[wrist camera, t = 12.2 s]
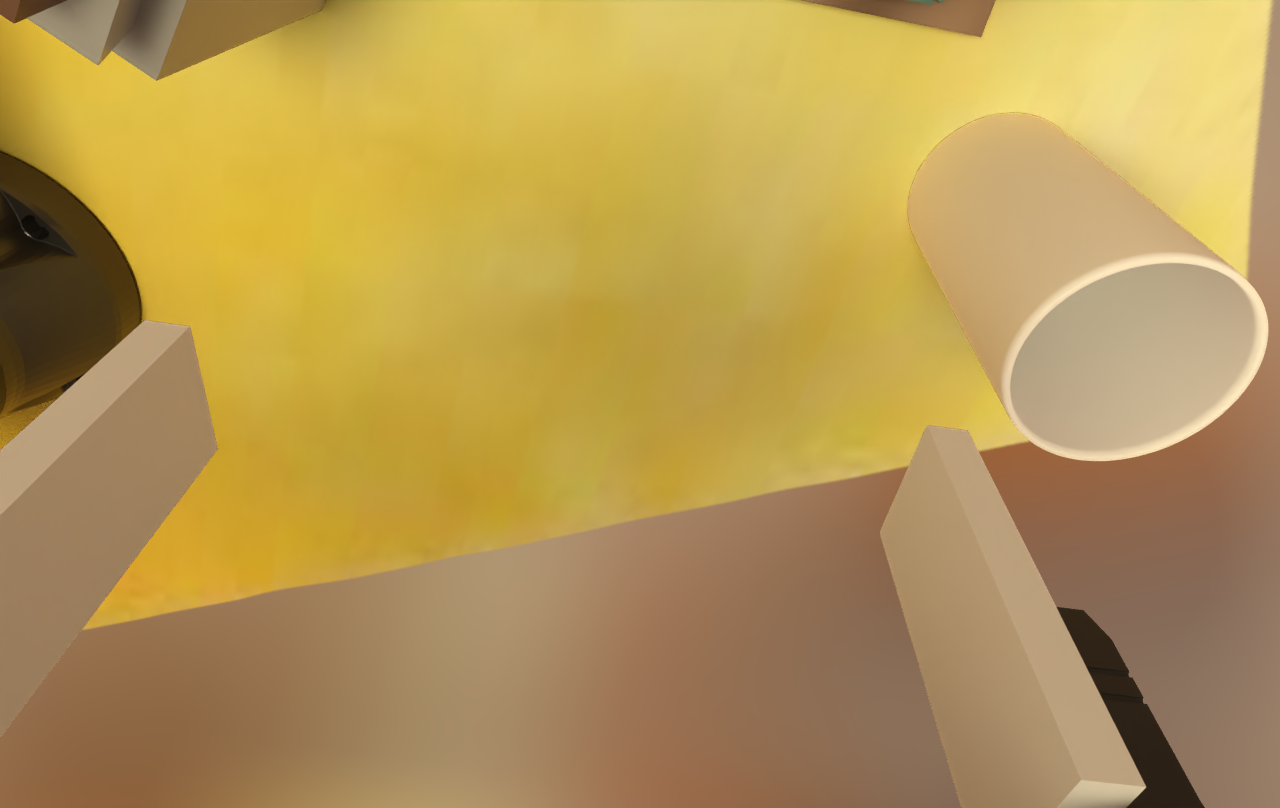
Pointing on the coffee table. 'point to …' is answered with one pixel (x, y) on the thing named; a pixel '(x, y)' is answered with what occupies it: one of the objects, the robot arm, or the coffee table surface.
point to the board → (925, 12)
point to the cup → (1081, 292)
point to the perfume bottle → (158, 27)
